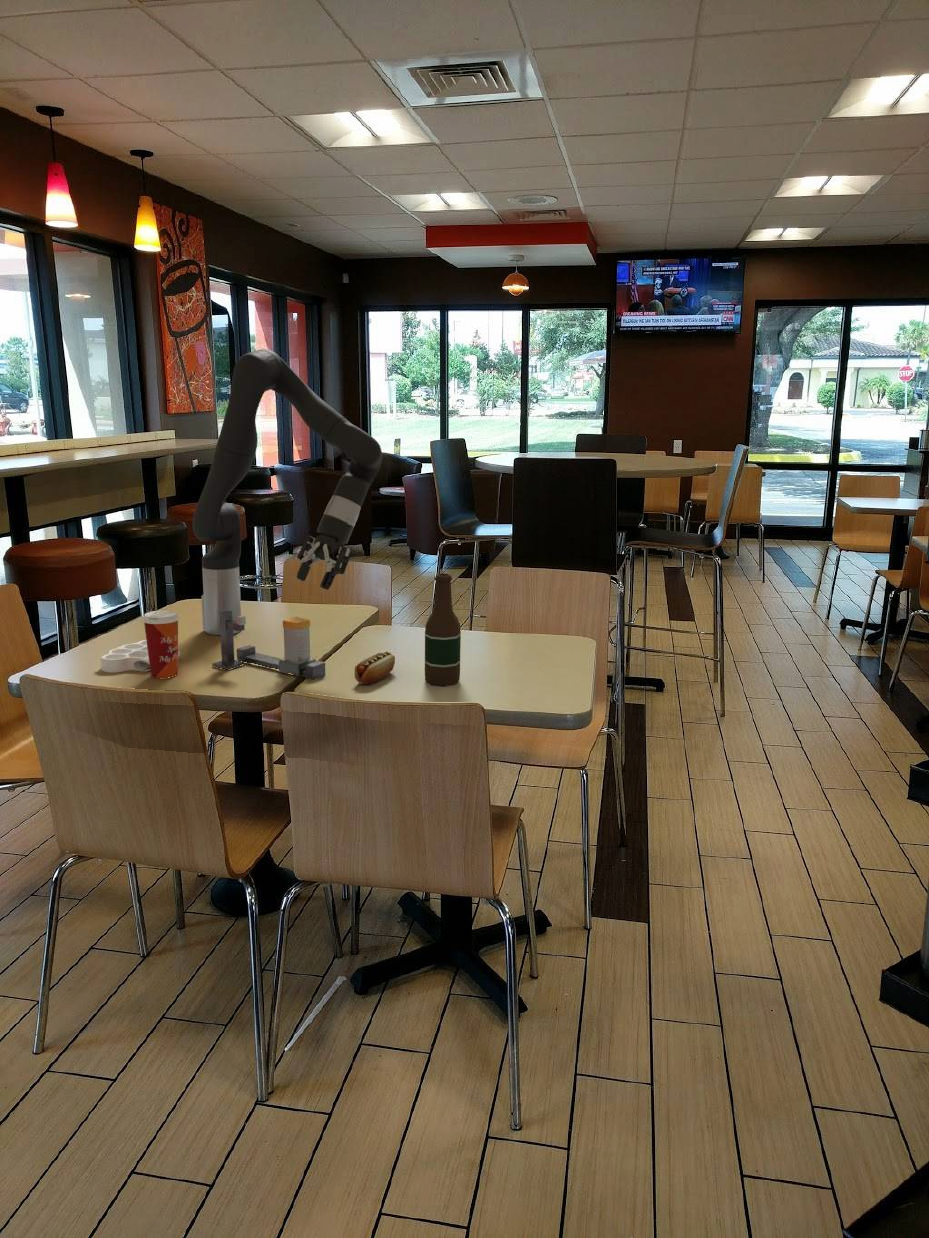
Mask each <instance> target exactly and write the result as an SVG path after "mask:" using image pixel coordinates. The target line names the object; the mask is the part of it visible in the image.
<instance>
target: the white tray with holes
mask: <svg viewBox="0 0 929 1238" xmlns="http://www.w3.org/2000/svg"><path fill="white" fill-rule="evenodd" d="M180 656H181V651H180V650H179V649H178V658H180ZM100 662H101V663H100V665H101V671H103V672H106V673H121V672H126V671H139V672H149V671H151V670H150V667H149V666H150V663H149V656H148V648H147V640H146V639H144V640H139V641H137V642H134V643H127V644H123V645H120V646H119V647H116V648H111V650H109V651H107V654H105V655H102V656H101V657H100Z"/></svg>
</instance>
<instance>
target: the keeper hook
mask: <svg viewBox="0 0 929 1238" xmlns="http://www.w3.org/2000/svg"><path fill="white" fill-rule="evenodd" d="M219 614H220V635H219V636H220V650H221V652H220V653H221V660H220V661H216V662H213V663H212V664H211V665H212V666H215V667H218V668H217V669H219V668H222V669H221V670H223V669H225V670H224V671H227V670H228V671H230V670H229V669H231V668H234V667H237V666H240V665H242V664H244V665H245V663H244V662H241V661H237V659H235V643H234V641H235V640H234V634H233V630H235V631H240V632H243V631H245V625H246V624H247V619H246V618H247V617H246V615H242V614H241V616H238V617H237V621H233V617H232V611H230V610H223V611H219ZM212 666H211V667H212ZM215 667H214V668H215ZM231 670H232V669H231Z"/></svg>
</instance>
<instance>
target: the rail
mask: <svg viewBox="0 0 929 1238" xmlns="http://www.w3.org/2000/svg"><path fill="white" fill-rule="evenodd" d="M280 659H281V658H280V657H275V656H272V655H268V654H267V655H266V654H263V653H259V652H256V646H254V645H250V644H248V645H245V646H241V647H238V648H236V660H238V661H242V662H247V663H254V664H258V665H262V666H265V667H269V668H275V669H279V661H280ZM247 663H246V664H247ZM300 674H301V676H299V677H301V678H305V679H309V680H313V681H314V680H316V679H319V678H322V677H324V676H326V662H324V661H319V660H316V662H314V663H311V664H308V665H306V668H304V669H301V670H300Z"/></svg>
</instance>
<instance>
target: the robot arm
mask: <svg viewBox="0 0 929 1238" xmlns="http://www.w3.org/2000/svg"><path fill="white" fill-rule="evenodd" d="M270 390H271V391H273V392H275V393H277V394H278V395H280V396H281V397H283V398H285V399H286V400H287V401H288V402H289V403H290V404H291V405H292V406H293V408H294V409H295V410H296V411H297V413H298V415H299V417H301V419H302V420H303V422H304V423H305V425H306V426H307V427H309V429H310V430H311V431H312V432H314V434H316V435H317V436H318V437H320V438H321V439H322V440H323V441H325V442H326V443H328V445H331V446H332V447H333V448H336V449H337V448H338V449H339V451H341V452H343V453H344V454H345V455H346V456H348V457H349V458H350V463H349V464H348V466H347V469H346V470H345V474H342V476H341V477H340V478H339V480H338V483H337V485H336V487H335V489H334V492H333V494H332V496H331V498H330V500H329V502H328V503H327V505H326V508H325V510H324V512H323V515H322V517H321V520H320V522H319V524H318V527H317V529H316V532H317V533H318V535H317V537H313V536H311V535H306V537H305V539H304V540H303V541H304V542H303V544H302V546H301V548H300V550H299V552H298V554H297V559H298V560H300V563H301V564H300V567H299V569H298V571H297V574H296V579H298V580H299V581H301V582H305V581H306V579H307V577H308V574H309V572H310V570H311V569H312V568H311V566H312V565H313V564H315V563H317V562H319V561H324V562H325V564H326V570H327V571H325V573H324V575H323V577H322V580H321V583H320V588H322V589H323V590H326V591H328V590H329V589H330V588H331V587H332V585H333V582H334V580H335V577H336V576H337V575H344V574H345V572H346V569H347V566H348V564H349V561H350V558H351V556H352V553H353V551H352V549H350V548H349V547H346V546H344V545H346V544H348V542H349V540H350V538H351V535H352V533H353V530H354V528H355V525H356V523H357V521H358V518H359V516H360V511H361V509H362V506H363V504H364V502H365V498H366V496H367V494H368V491H369V489H370V487H371V485H372V483H373V481H374V480H375V478H376V476H377V474H378V473H379V470H380V468H381V465H382V462H383V458H384V457H383V452H382V448H381V447H382V446H381V445H380V443H379V442H378V441H377V440H376V439H375V438H374V437H372V436H371V435H370V434H369V433H367V432H366V431H364V430H363V429H361V428H359V427H358V426H357V425H354V424H353V423H351V422H350V421H349V420H348V419H347V418H346V417H345V416H343V415H342V414H341V413H339V412H338V411H337V410H335V408H333V407H331V406H330V405H329V404H328V403H327V402H326V401H324V400H323V399H322V398H321V397H320V396H318V394H316V393H315V392H314V391H313V390H312V389H311V388H310V387H309V386H308V385H307V384H306V383H305V382H304V381H303V380H302V378H300V377H299V376H298V374H296V373H295V371H294V370H293V369H292V368H291V367H290V366H289V365H288V364H287V363H286V362H285V361H284V359H282V357H280V355H278V354H277V353H276V352H275V351H273V350H270V349H268V348H267V349H264V348H263V349H257V350H254V351H250V352H247V353H245V354H243V355H242V356H240V357H239V358H238V359H237V361H236V363H235V365H234V368H233V372H232V380H231V385H230V392H229V398H228V404H227V408H226V410H225V415H224V418H223V422H222V426H221V430H220V432H219V436H218V439H217V443H216V445H215V449H214V454H213V458H212V462H211V465H210V470H209V472H208V475H207V478H206V482H205V484H204V487H203V490H202V493H201V494H200V497H199V500H198V502H197V504H196V506H195V509H194V512H193V517H192V530H193V534H194V536H195V538H196V539H198V540H199V541H200V542H204V543H205V542H206V543H211V542H216V544H215V546H214V547H213V548H211V550H210V551H208V552H207V553H205V554H204V555H203V556H202V558H201V568H202V571H201V572H202V586H203V587H202V589H203V594H202V595H201V596H200V598H201V615H202V618H201V619H202V631H204V632H205V633H206V634H208V635H214V636H221V635H220V614H219V611H223V610H230V611H232V617H233V621H237V617H238V616H242V608H241V607H242V605H241V604H242V603H241V601H242V600H241V584H240V583H241V582H240V581H241V579H240V558H241V553H242V520H241V515H240V513H239V510H238V509H237V507H236V506H234V505H233V504H231V503H225V501H226V499H227V497H228V496H229V495H230V493H232V492H233V490H234V489H235V488H236V487H237V486H238V485H239V484H240V482H242V481H243V479H244V478H246V476H247V474H248V473H249V471H250V470H251V468H252V466H253V462H254V458H255V456H256V452H257V448H258V431H257V425H256V420H257V418H256V417H257V413H258V409H259V406H260V402H261V400H262V398H263V396H264V394H265V392H268V391H270ZM240 632H241V631H235V630H233V635H234V634H238V633H240Z"/></svg>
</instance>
